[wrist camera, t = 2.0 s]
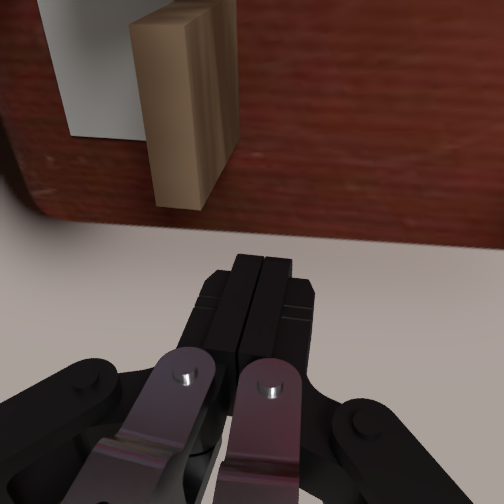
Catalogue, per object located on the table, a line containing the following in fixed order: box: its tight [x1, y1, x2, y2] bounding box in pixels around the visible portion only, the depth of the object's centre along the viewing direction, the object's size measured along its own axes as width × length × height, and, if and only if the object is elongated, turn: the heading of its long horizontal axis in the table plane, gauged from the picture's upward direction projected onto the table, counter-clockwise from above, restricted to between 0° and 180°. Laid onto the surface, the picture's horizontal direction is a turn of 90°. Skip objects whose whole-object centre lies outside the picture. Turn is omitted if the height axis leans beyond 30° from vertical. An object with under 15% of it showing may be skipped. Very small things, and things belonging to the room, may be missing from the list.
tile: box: [128, 0, 240, 210], centre depth 27 cm, size 3×9×10 cm, turn 1°
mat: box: [37, 0, 176, 141], centre depth 32 cm, size 9×10×1 cm
